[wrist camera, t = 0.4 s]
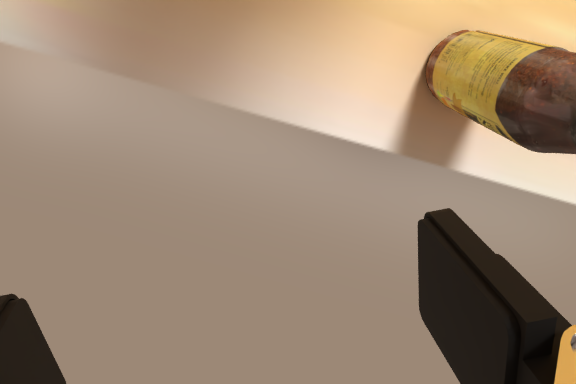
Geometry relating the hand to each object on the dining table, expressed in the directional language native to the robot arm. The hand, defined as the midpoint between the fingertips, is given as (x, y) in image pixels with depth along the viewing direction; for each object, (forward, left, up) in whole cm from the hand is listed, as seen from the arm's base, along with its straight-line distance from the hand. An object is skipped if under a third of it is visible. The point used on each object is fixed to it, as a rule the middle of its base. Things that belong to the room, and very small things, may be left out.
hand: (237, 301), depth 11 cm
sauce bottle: (-4, +19, -28) cm, 34 cm away
